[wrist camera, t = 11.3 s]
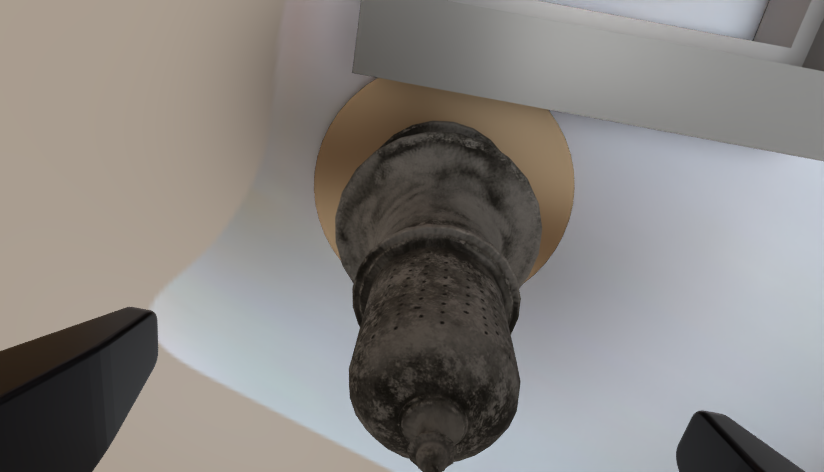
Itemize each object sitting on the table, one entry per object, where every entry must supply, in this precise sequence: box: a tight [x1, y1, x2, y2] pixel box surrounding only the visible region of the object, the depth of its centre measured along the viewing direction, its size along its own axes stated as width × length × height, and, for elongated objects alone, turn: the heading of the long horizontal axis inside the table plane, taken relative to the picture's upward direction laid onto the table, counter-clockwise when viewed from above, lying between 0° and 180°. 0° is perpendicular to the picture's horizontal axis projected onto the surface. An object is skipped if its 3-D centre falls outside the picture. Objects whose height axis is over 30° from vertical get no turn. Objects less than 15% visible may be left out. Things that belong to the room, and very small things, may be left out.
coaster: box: [314, 78, 574, 283], centre depth 18 cm, size 9×9×1 cm
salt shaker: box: [335, 121, 542, 472], centre depth 12 cm, size 6×6×12 cm
